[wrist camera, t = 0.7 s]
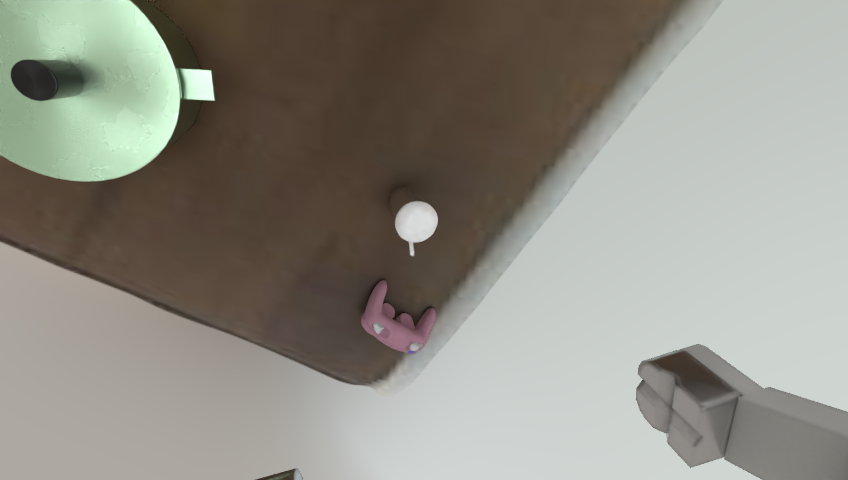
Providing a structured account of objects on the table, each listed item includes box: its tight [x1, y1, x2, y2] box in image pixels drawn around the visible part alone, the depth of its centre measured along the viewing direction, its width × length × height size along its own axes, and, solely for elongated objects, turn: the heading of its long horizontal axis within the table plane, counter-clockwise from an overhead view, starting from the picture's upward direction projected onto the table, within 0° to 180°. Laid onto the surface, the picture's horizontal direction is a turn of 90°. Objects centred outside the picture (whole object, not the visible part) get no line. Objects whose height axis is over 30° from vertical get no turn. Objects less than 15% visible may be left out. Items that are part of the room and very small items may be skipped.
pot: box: [132, 0, 217, 148], centre depth 36 cm, size 15×20×10 cm
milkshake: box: [389, 188, 438, 256], centre depth 47 cm, size 5×5×10 cm
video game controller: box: [361, 281, 436, 354], centre depth 55 cm, size 10×5×7 cm, turn 52°
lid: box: [0, 0, 182, 182], centre depth 30 cm, size 16×16×5 cm
